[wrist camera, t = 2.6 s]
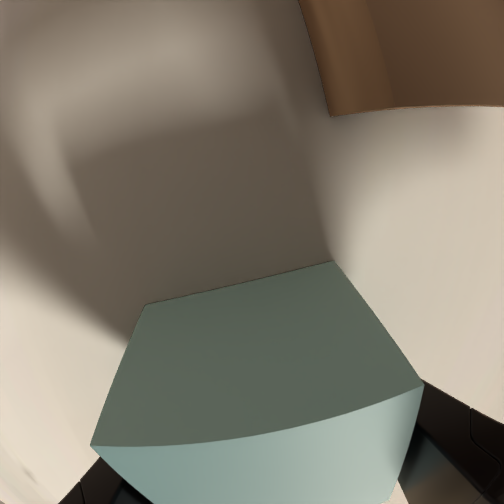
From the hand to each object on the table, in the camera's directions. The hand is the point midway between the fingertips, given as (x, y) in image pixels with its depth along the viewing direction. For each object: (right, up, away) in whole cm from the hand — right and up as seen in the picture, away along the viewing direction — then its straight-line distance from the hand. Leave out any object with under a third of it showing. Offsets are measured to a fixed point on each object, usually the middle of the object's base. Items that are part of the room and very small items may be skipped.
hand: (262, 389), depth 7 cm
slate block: (0, 0, +1) cm, 1 cm away
